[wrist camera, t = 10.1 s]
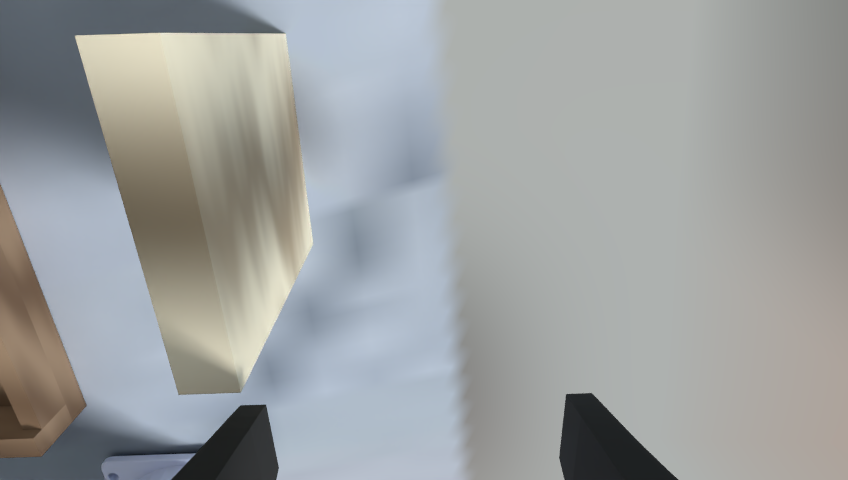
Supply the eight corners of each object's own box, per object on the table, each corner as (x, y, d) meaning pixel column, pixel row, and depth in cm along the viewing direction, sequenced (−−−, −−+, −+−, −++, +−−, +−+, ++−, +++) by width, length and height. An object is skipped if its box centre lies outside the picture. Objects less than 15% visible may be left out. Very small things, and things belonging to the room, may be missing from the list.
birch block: (313, 243, 20) (240, 392, 12) (277, 245, 20) (178, 394, 12) (285, 33, 17) (159, 32, 9) (242, 35, 17) (74, 35, 8)
